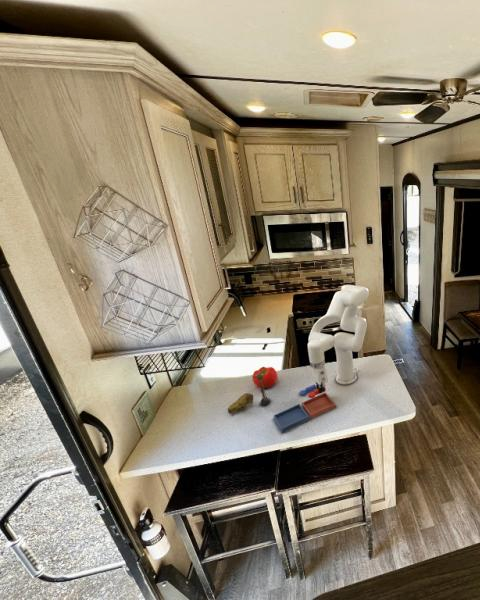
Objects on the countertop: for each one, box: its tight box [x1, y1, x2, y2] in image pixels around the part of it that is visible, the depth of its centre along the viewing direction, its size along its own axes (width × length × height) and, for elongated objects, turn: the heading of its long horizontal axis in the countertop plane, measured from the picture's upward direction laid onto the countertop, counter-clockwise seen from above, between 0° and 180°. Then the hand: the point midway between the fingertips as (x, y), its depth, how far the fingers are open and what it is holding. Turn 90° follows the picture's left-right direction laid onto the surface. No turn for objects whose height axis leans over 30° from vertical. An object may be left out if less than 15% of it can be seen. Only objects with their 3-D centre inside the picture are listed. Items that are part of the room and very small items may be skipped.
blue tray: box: [273, 403, 310, 434], centre depth 171 cm, size 14×12×3 cm
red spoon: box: [307, 387, 327, 399], centre depth 175 cm, size 10×4×2 cm, turn 128°
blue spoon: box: [299, 383, 317, 397], centre depth 191 cm, size 10×4×2 cm, turn 128°
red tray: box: [301, 392, 337, 420], centre depth 179 cm, size 14×12×3 cm
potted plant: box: [252, 373, 271, 407], centre depth 179 cm, size 6×5×20 cm
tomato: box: [252, 366, 278, 389], centre depth 196 cm, size 14×13×10 cm
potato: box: [227, 392, 254, 414], centre depth 178 cm, size 8×13×8 cm, turn 109°
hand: (320, 391), depth 177 cm, fingers closed on red spoon, 1 cm apart
